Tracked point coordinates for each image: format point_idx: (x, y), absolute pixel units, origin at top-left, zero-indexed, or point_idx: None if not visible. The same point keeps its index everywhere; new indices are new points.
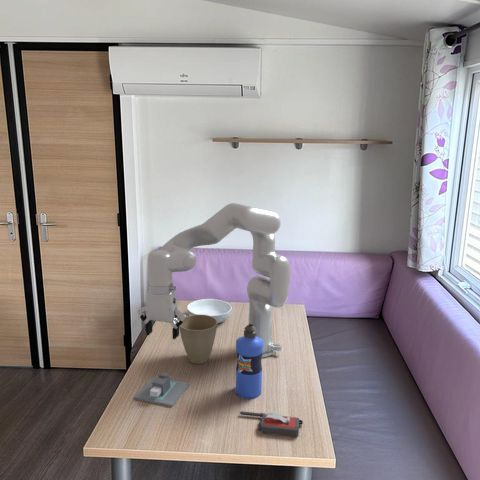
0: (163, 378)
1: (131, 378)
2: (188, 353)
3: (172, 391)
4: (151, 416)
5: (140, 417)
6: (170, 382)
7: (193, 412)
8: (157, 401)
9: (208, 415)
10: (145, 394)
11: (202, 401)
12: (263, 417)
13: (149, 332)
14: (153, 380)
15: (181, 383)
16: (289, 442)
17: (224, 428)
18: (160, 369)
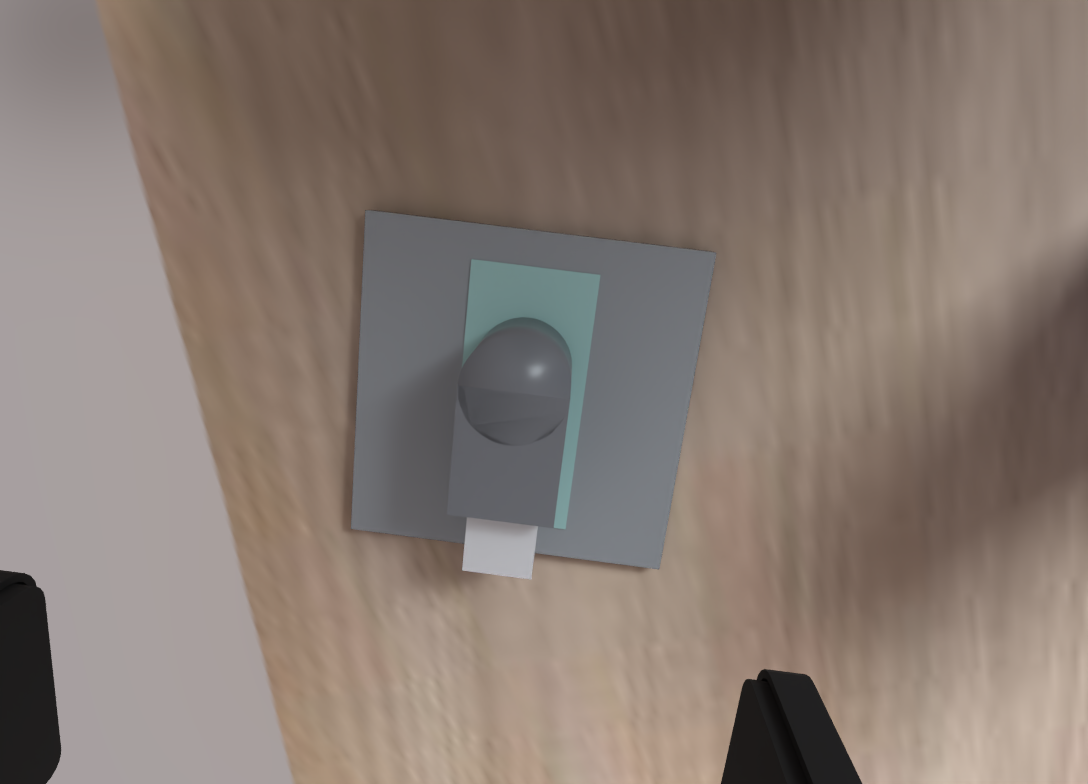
0: (522, 437)
1: (193, 259)
2: None
3: (607, 408)
4: (549, 668)
5: (485, 687)
6: (549, 285)
7: (820, 587)
8: (537, 549)
9: (932, 600)
10: (415, 484)
11: (865, 455)
12: None
13: (17, 758)
14: (393, 282)
15: (648, 276)
16: None
17: (1055, 702)
18: (368, 43)
